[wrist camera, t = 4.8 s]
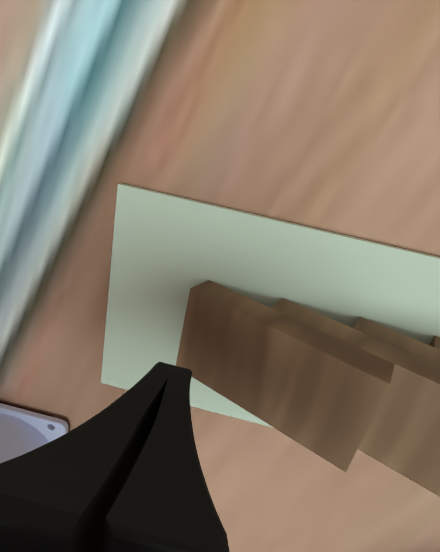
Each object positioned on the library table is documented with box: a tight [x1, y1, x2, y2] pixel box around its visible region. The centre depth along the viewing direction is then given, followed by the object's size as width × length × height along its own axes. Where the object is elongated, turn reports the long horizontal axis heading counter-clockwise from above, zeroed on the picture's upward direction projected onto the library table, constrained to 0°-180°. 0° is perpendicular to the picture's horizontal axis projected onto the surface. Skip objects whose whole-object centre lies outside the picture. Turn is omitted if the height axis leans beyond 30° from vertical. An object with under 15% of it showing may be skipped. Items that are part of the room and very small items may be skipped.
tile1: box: [176, 280, 395, 472], centre depth 16 cm, size 2×5×9 cm
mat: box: [101, 183, 440, 428], centre depth 18 cm, size 28×12×1 cm, turn 78°
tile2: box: [270, 298, 440, 496], centre depth 15 cm, size 2×5×9 cm
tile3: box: [353, 316, 440, 365], centre depth 15 cm, size 2×5×9 cm
